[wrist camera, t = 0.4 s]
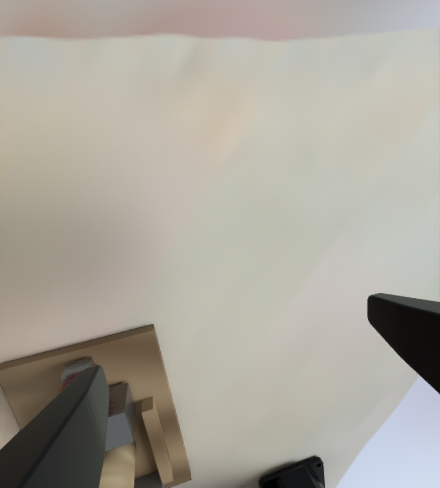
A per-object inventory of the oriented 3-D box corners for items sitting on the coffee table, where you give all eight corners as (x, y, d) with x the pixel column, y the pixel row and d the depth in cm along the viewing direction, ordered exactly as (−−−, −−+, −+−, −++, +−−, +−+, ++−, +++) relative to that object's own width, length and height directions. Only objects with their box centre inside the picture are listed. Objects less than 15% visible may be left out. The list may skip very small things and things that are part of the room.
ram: (136, 409, 20) (129, 499, 14) (62, 431, 19) (26, 536, 14) (118, 349, 19) (103, 423, 13) (38, 371, 18) (-14, 460, 12)
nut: (140, 458, 22) (138, 508, 18) (95, 474, 21) (84, 528, 18) (130, 425, 21) (126, 471, 17) (82, 440, 20) (68, 491, 17)
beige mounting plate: (190, 470, 24) (198, 538, 19) (67, 514, 22) (45, 601, 18) (153, 324, 20) (153, 367, 15) (1, 363, 18) (-50, 425, 14)
